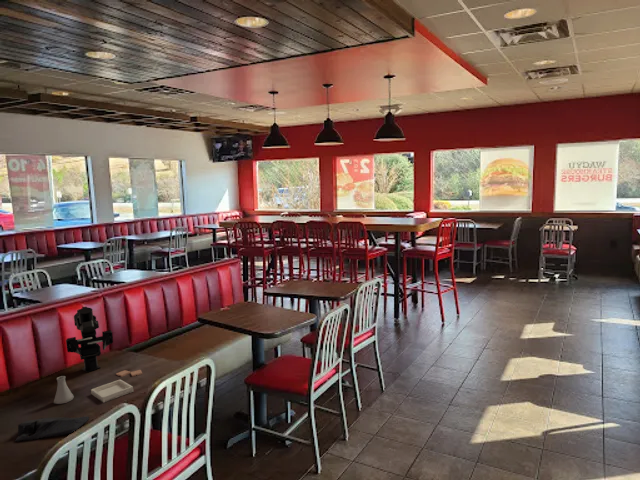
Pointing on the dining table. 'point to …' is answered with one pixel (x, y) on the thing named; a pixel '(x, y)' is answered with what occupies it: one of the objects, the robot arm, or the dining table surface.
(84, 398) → the dining table surface
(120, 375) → the tile
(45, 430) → the black crumpled cloth
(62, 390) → the flask
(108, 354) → the dining table surface
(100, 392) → the tray
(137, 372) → the tile
